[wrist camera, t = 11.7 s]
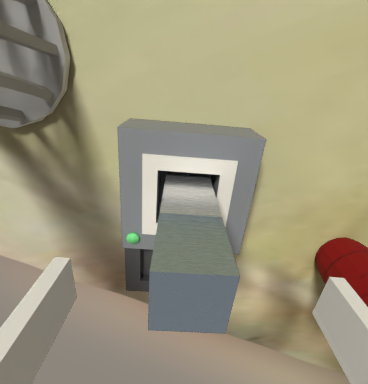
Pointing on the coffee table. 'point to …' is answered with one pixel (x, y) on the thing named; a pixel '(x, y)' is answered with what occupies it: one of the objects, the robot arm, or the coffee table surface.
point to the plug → (191, 260)
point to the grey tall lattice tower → (31, 62)
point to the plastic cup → (345, 264)
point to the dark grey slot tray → (137, 268)
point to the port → (184, 162)
